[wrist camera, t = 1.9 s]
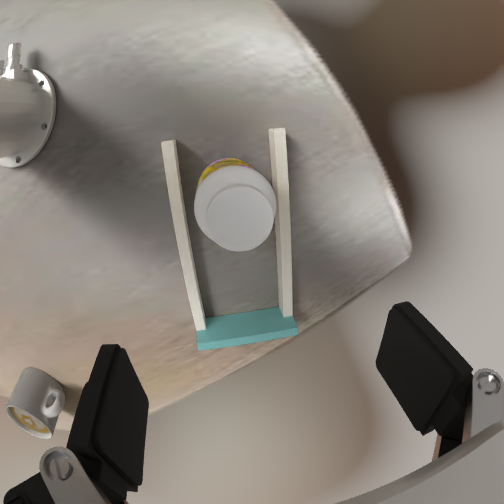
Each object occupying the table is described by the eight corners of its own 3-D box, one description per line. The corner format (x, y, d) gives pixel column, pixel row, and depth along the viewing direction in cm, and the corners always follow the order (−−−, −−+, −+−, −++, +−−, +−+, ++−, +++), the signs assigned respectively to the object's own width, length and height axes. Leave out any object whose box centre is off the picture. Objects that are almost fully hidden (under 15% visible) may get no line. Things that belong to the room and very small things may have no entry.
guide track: (164, 141, 28) (156, 142, 23) (279, 128, 29) (292, 127, 25) (198, 326, 38) (198, 350, 33) (287, 312, 39) (297, 334, 35)
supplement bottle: (264, 164, 31) (300, 185, 19) (249, 220, 33) (274, 271, 21) (204, 151, 29) (203, 162, 17) (192, 209, 31) (184, 257, 20)
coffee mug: (40, 400, 41) (27, 435, 32) (14, 366, 37) (-4, 402, 28) (87, 402, 42) (76, 444, 33) (61, 367, 38) (44, 410, 29)
